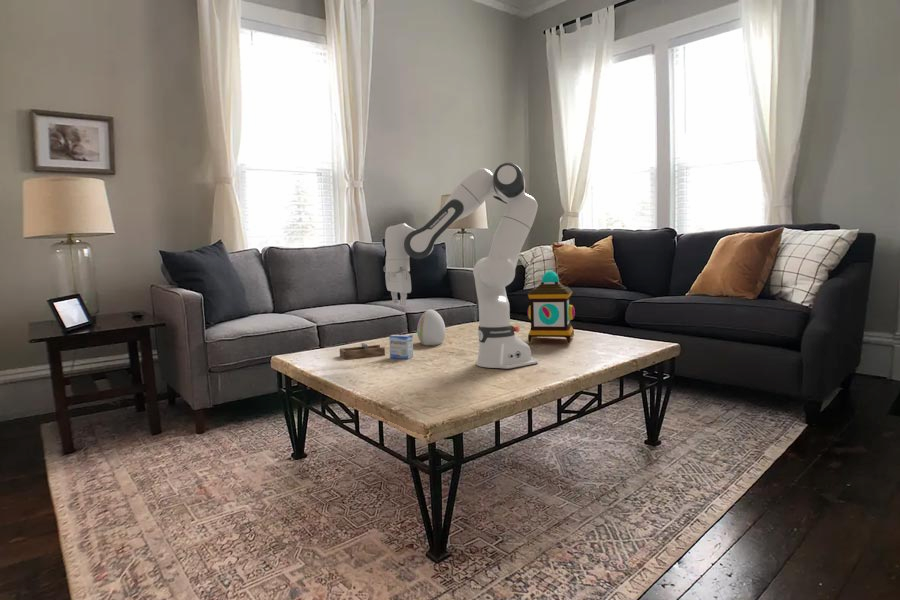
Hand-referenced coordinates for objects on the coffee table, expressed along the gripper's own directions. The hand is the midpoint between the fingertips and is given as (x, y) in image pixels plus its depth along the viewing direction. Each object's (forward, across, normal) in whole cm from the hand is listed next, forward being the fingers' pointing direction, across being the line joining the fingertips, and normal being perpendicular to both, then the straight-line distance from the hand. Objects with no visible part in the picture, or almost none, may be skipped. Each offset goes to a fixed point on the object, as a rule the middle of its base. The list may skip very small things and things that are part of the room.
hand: (399, 304), depth 205 cm
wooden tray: (+20, +13, +12) cm, 27 cm away
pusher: (+20, +13, +12) cm, 27 cm away
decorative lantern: (+20, +2, -68) cm, 71 cm away
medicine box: (+21, 0, 0) cm, 21 cm away
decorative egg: (+20, +23, -21) cm, 37 cm away
